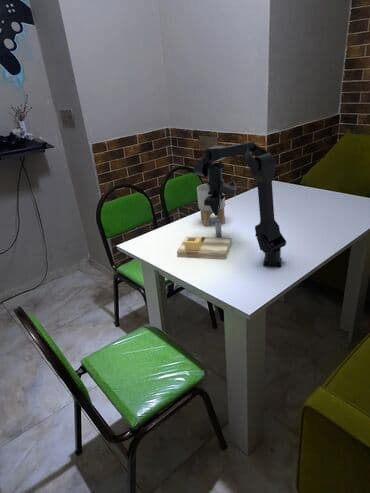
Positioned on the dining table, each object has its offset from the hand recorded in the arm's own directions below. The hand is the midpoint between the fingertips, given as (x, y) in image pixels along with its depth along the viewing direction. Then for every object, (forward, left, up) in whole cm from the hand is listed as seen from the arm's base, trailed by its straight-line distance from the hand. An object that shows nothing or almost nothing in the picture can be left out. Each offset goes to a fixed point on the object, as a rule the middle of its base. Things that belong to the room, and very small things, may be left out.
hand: (217, 214), depth 146 cm
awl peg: (0, 0, -12) cm, 12 cm away
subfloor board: (-10, +4, -12) cm, 16 cm away
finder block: (-13, +8, -10) cm, 18 cm away
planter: (+20, +7, -12) cm, 25 cm away
